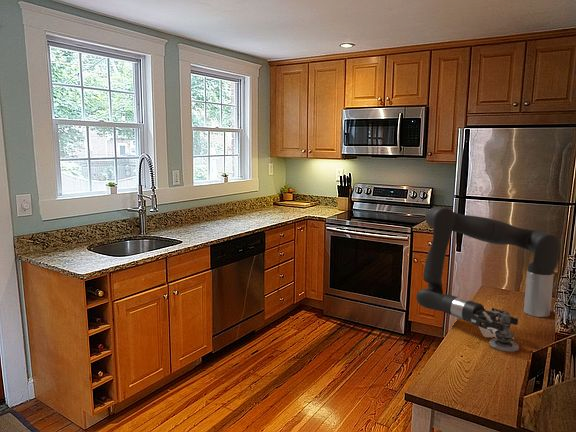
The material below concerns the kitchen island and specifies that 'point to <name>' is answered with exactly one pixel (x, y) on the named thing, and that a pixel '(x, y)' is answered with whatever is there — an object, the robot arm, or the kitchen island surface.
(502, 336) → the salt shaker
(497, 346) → the coaster
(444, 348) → the kitchen island surface
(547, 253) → the robot arm
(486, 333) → the card
